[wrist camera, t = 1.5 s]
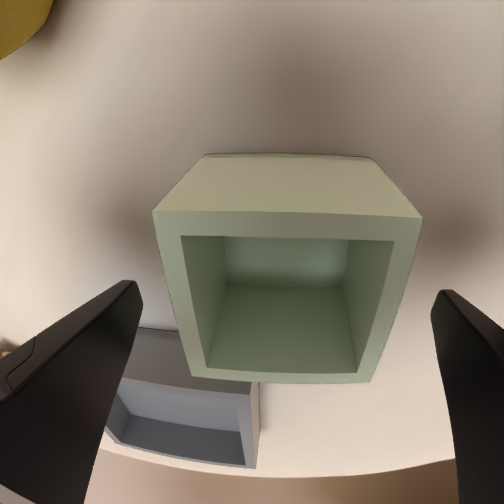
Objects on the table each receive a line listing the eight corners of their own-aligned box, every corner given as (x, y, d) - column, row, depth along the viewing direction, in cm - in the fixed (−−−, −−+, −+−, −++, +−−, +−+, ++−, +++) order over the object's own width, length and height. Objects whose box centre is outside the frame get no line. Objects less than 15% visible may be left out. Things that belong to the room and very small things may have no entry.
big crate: (257, 337, 16) (249, 394, 13) (259, 430, 22) (255, 468, 19) (74, 317, 17) (48, 357, 14) (128, 410, 23) (116, 443, 20)
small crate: (370, 157, 10) (423, 218, 6) (351, 290, 13) (369, 382, 9) (204, 154, 11) (151, 211, 7) (218, 286, 14) (191, 375, 10)
